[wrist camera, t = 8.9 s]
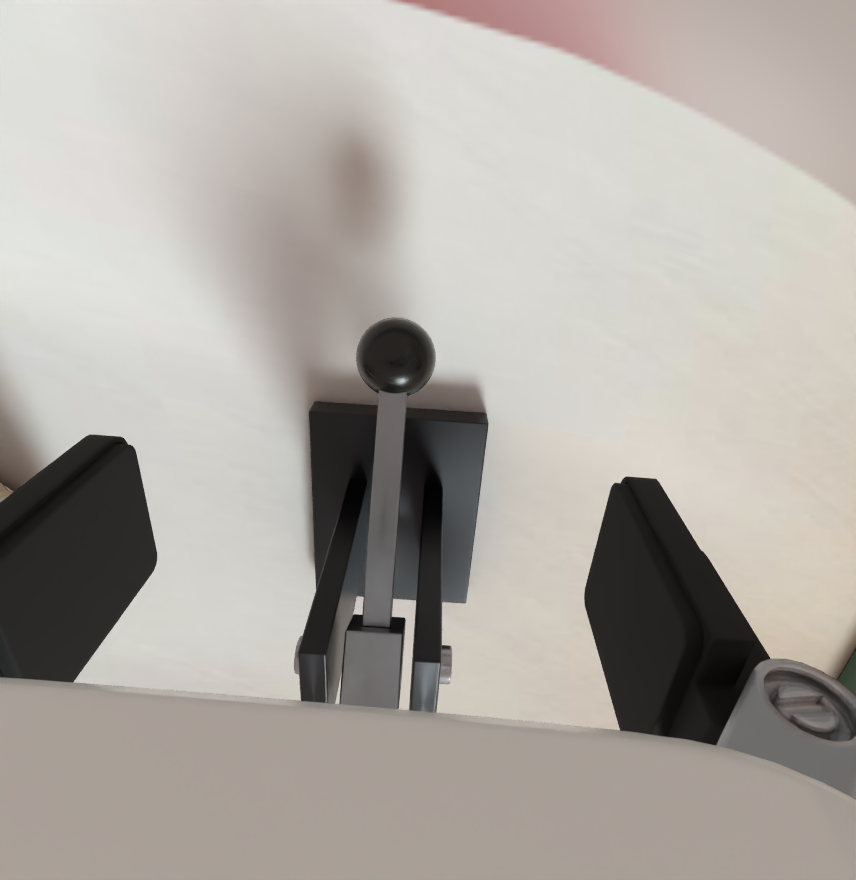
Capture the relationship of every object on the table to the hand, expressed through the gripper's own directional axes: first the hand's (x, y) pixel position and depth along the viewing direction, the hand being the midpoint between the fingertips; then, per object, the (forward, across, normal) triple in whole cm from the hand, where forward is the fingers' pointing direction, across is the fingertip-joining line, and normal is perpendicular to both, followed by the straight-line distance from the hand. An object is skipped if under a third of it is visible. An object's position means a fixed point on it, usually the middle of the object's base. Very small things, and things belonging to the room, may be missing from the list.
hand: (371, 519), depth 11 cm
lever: (+11, +1, +7) cm, 13 cm away
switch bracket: (+17, +1, +11) cm, 21 cm away
